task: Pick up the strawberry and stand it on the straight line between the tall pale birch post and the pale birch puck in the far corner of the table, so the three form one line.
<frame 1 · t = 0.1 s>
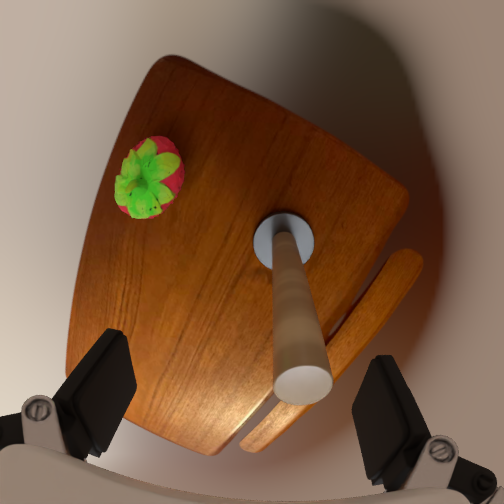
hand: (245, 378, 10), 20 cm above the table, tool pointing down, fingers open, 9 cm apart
strawberry: (169, 173, 28), on the table
post: (283, 240, 29), on the table
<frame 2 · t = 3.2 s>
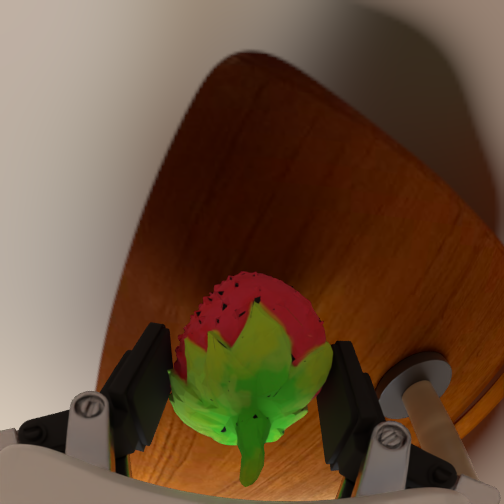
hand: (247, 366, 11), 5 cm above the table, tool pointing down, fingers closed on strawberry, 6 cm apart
strawberry: (253, 302, 16), on the table, touching gripper
post: (412, 383, 17), on the table
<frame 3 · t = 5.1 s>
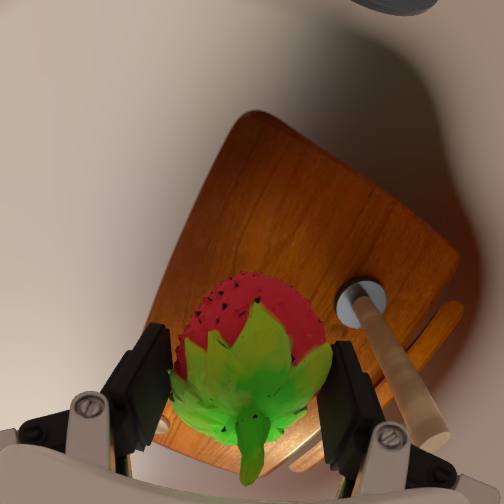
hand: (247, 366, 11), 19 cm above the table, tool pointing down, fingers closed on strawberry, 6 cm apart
strawberry: (253, 302, 16), point 14 cm above the table, touching gripper
puck: (155, 421, 39), on the table
post: (359, 301, 31), on the table
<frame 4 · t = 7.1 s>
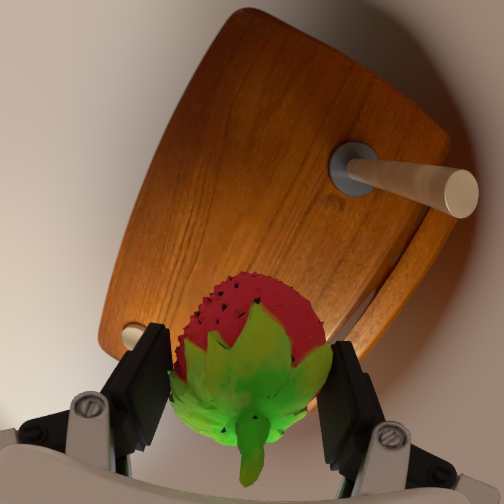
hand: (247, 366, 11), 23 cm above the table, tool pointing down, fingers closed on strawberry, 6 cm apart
strawberry: (253, 302, 16), point 18 cm above the table, touching gripper
puck: (138, 337, 39), on the table
post: (353, 168, 30), on the table
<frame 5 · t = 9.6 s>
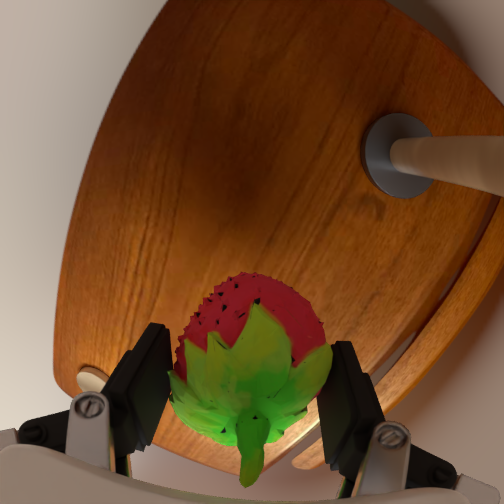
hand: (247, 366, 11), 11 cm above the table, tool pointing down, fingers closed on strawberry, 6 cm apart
strawberry: (253, 302, 16), point 6 cm above the table, touching gripper
puck: (98, 383, 27), on the table
post: (398, 155, 18), on the table
when the fingers open (5 cm above the table, at t = 11.5 s): strawberry stays where it is, on the table.
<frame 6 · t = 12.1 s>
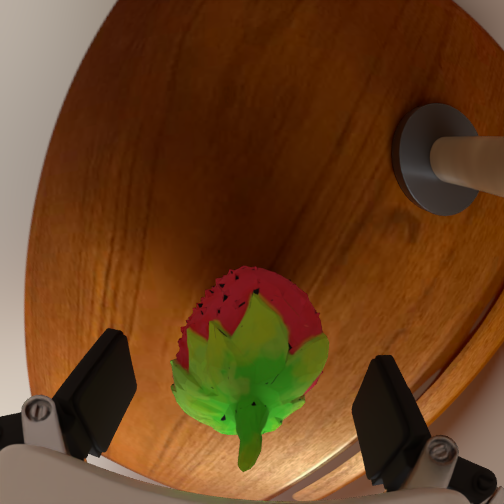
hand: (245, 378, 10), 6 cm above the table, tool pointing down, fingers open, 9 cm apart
strawberry: (254, 298, 16), on the table
post: (437, 158, 13), on the table
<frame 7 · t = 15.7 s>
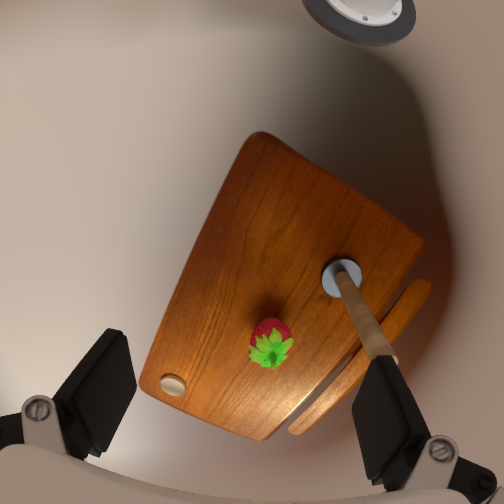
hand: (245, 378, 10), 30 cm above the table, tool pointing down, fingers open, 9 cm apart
strawberry: (270, 323, 44), on the table
puck: (173, 384, 50), on the table
post: (340, 276, 41), on the table
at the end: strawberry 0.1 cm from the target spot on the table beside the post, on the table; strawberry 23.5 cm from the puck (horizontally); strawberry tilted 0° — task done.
